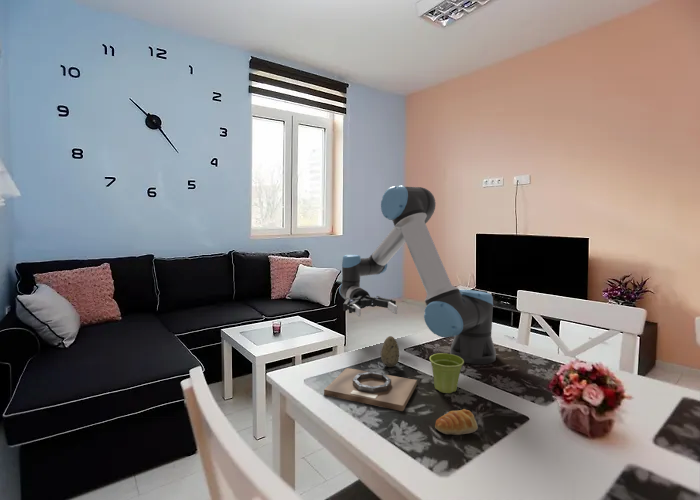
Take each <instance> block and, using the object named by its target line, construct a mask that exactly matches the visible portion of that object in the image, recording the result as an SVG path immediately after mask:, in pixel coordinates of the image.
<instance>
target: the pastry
mask: <svg viewBox="0 0 700 500" xmlns="http://www.w3.org/2000/svg"><path fill="white" fill-rule="evenodd" d="M434 428H435V429H436V430H437V431H438V432H440V433H441V434H445V435H456V436H461V435H465V434H471V433H474V432H476V431H478V424H477V421H476V419H475V415H474V414H473V412H472V411H470V410H468V409H466V408H463V409H460V410H458V409H457V410H450V411H448V412H447V413H445V414H444V415H442V416H440V417H438V418H437V419H436V420H435V424H434Z"/></svg>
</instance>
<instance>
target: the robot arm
mask: <svg viewBox="0 0 700 500" xmlns="http://www.w3.org/2000/svg"><path fill="white" fill-rule="evenodd" d="M436 204H437V203H436V199H435V196H434V194H433V193H432V191H430V190H429V189H427V188H424V187H419V186H417V187H416V186H404V185H402V184H401V185H394V186H390V187H388V188H387V190H386V191H385V192H384V194H383V195H382V199H381V201H380V209H381V214H382V215H383V217H384V218H386V219H387V220H390V221H392V223H393V225H394V227H393V228H392V229H391V230H390V231H389V232H388V234H387V235H386V237H384V239H383V240H381V243H380V244H378V247H376V249H375V250H374V251H373V252H372V254H371V255H370V256H369V257H365V258H361V255H359V254H345V255H343V256H342V261H341V262H342V263H341V267H342V268H341V269H342V271H341V273H342V274H341V275H342V277H341V284H340V285H339V289H338V291H339V294H340V296H341V298H343V299H344V300H345V301H344V303H343V309H342V310H343V311H344V312H346V311H348V314H353V313H354V314H355V315H356V316H357V317H362V316H361V315H362V314H361V313H362V312H361V311H362V309H365V308H367V307H370V308H371V307H373V308H375V307H378V308H379V307H381V308H385V309H387V310H388V311H390V312H392V313H393V314H396V315H397V314H398V306H397V304H396V303H397V302H396V301H397V300H393V299H392V298H391V299H390V298H385V297H381V296H379V295H376V297H375V296H371V295H370V294H369V292H368V291H367V290H366V289H363V288H362V287H361V286H360V284H361V277H367V276H372V275H374V276H375V275H377V276H378V275H380V274H383V273H385V272H386V271H387V270H388V269H387V268H388V263H389V261H390V260H391V259H392V258H393V257H394V256H395V255H396V254H397V252H398V251H400V249H401V248H402V247H403V246H404V245H405V244H406V246H407V249H408V251H409V253H410V256H411V258H412V261H413V263H414V266H415V268H416V271H417V273H418V276H419V278H420V280H421V283H422V285H423V287H424V290H425V292H426V298H425V299H424V302H425V305H426V307H425V308H424V313H423V318H424V322H425V325H426V326H427V329H429V330H430V332H431V333H432V334H434V335H436V336H438V337H441V338H451V337H454V338H453V340H452V343H451V344H450V350H449V354H453V355H456V356H459V357H461V358H462V359H463V360H464V363H466V364H471V365H487V364H493V363H494V362H495V361H496V358H497V357H496V356H497V352H496V349H495V345H494V342H493V337H492V328H493V311H494V310H493V309H494V298H493V295H492V294H491V293H488V292H485V291H480V290H475V289H459V287H456V286H454V285H453V284H452V281H451V280H450V277H449V274H448V273H447V270H446V268H445V266H444V264H443V261H442V259H441V256H440V254H439V252H438V249H437V247H436V245H435V243H434V242H435V241H434V240H433V238H432V236H431V234H430V231H429V229H428V226H427V223H428V222H429V221H430V220H431V218H432V217H433V214H435V210H436Z"/></svg>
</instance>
